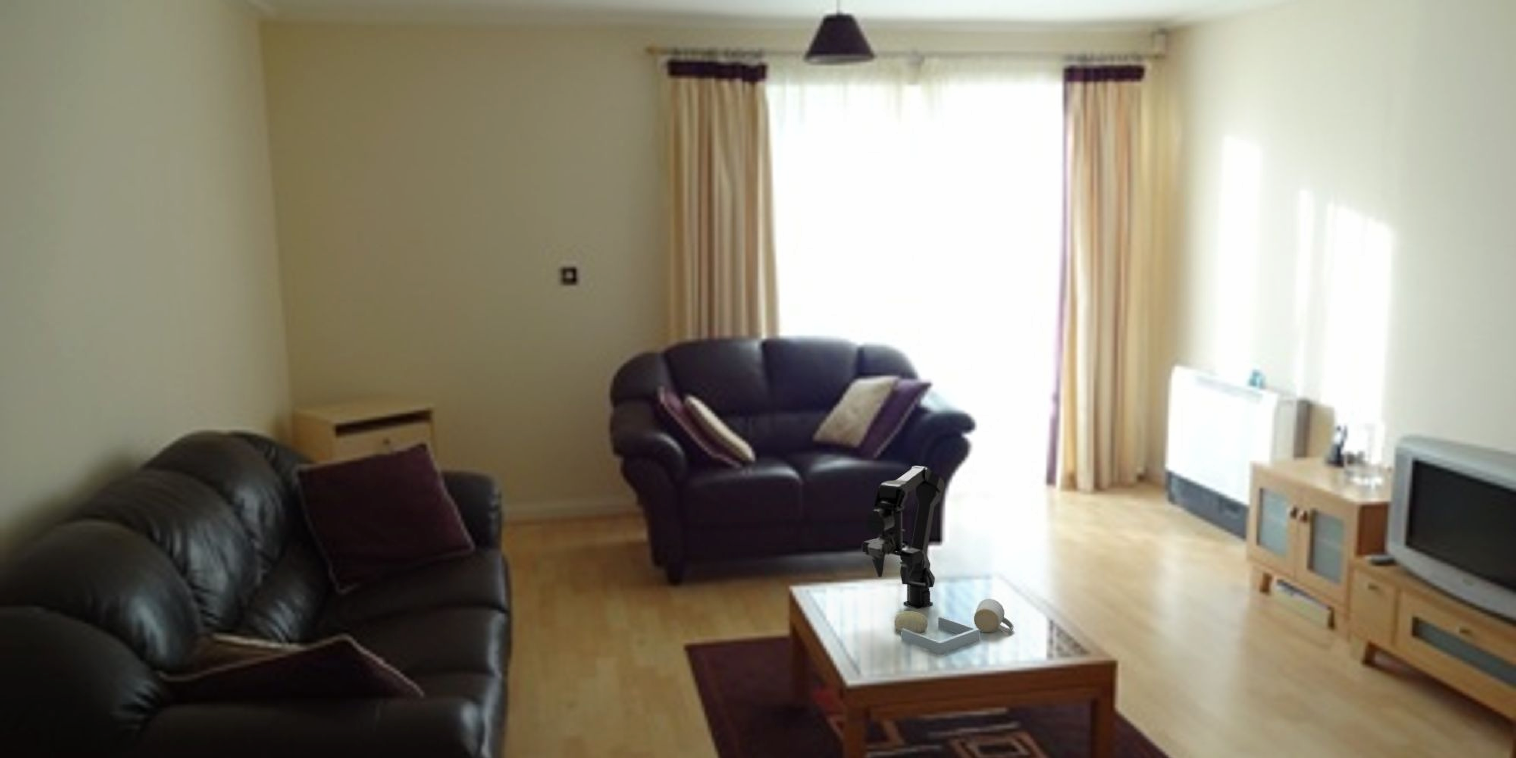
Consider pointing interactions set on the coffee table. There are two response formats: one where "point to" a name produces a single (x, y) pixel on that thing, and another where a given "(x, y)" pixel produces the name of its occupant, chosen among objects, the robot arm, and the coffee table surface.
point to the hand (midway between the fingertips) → (892, 580)
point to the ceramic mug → (991, 617)
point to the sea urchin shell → (911, 621)
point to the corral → (965, 637)
